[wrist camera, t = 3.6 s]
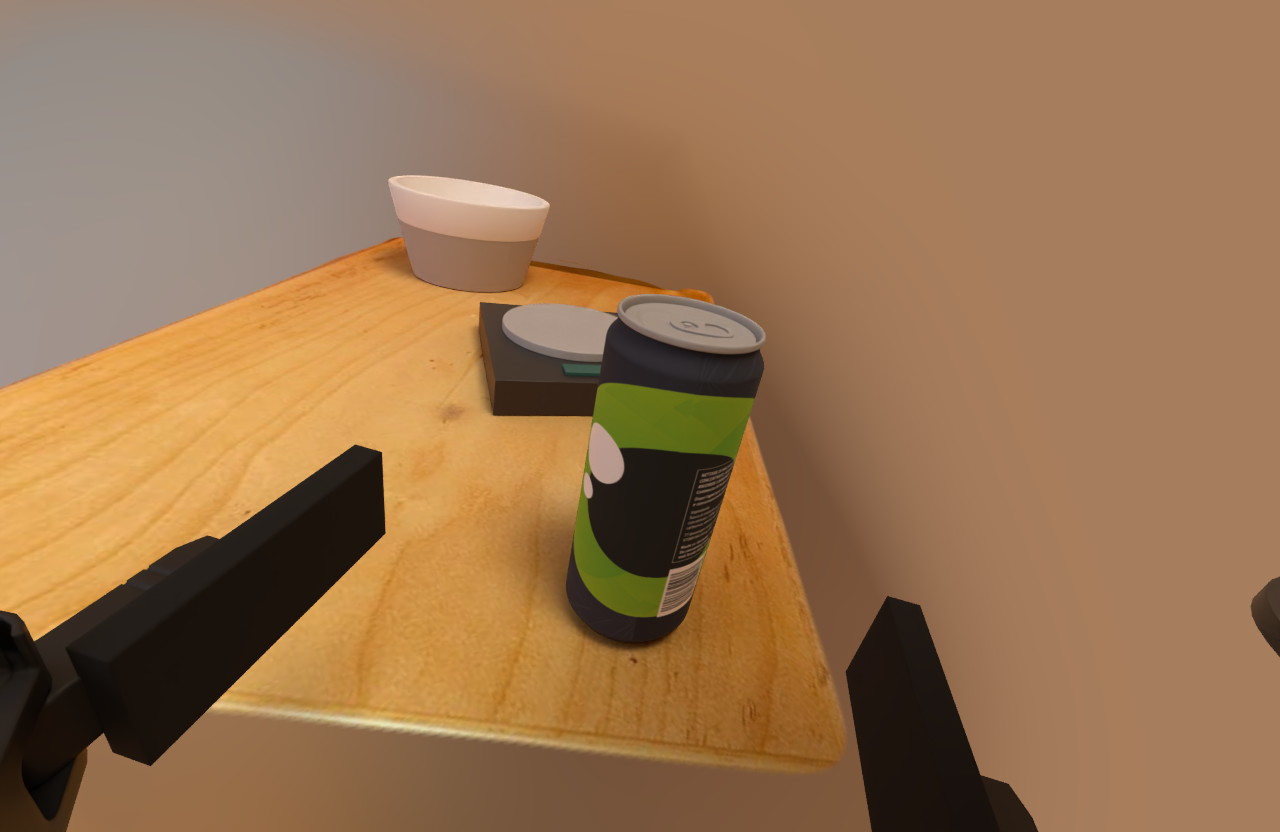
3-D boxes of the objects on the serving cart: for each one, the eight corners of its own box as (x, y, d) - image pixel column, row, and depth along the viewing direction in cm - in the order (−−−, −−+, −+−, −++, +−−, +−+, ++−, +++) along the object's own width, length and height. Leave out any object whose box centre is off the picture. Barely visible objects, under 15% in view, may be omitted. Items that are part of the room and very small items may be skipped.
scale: (624, 338, 61) (630, 306, 59) (683, 416, 47) (692, 377, 45) (478, 330, 56) (480, 294, 54) (492, 415, 41) (495, 370, 39)
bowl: (514, 310, 63) (521, 215, 58) (358, 275, 64) (352, 178, 59) (558, 276, 80) (566, 200, 75) (434, 249, 81) (435, 172, 76)
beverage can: (677, 561, 30) (750, 306, 23) (694, 657, 25) (795, 360, 18) (567, 551, 29) (609, 282, 23) (560, 648, 24) (612, 333, 17)
